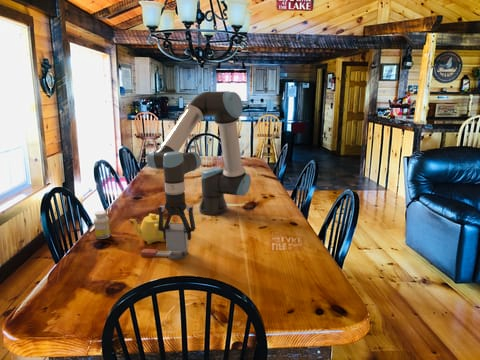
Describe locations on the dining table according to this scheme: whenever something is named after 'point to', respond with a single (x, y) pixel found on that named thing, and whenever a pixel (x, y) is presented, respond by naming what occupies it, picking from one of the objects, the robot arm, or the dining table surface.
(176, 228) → the rimmed grey cube
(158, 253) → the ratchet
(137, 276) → the dining table surface
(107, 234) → the pill bottle
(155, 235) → the teapot
